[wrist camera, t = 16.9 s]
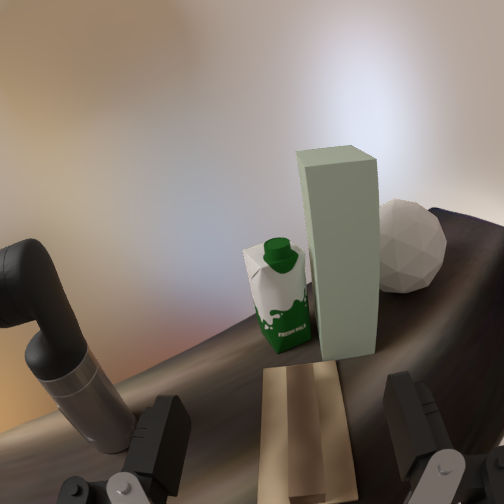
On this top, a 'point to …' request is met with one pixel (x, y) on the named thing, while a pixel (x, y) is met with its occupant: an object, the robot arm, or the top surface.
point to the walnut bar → (304, 438)
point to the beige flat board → (331, 429)
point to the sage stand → (342, 247)
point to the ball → (409, 246)
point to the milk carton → (279, 292)
